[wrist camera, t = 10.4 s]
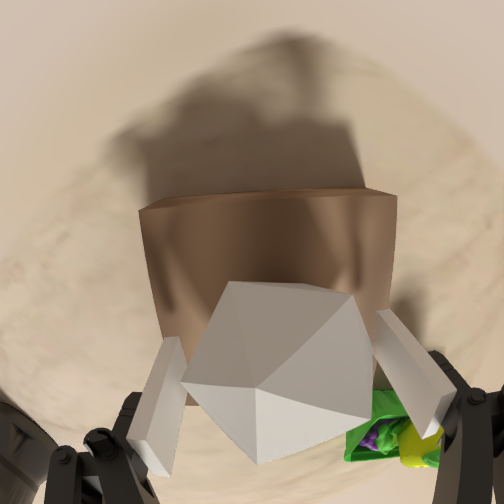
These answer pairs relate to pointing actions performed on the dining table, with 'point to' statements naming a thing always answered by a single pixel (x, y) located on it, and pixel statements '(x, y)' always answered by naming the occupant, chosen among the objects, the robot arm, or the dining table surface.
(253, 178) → the dining table surface
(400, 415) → the fruit basket
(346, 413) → the die
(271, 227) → the walnut block
